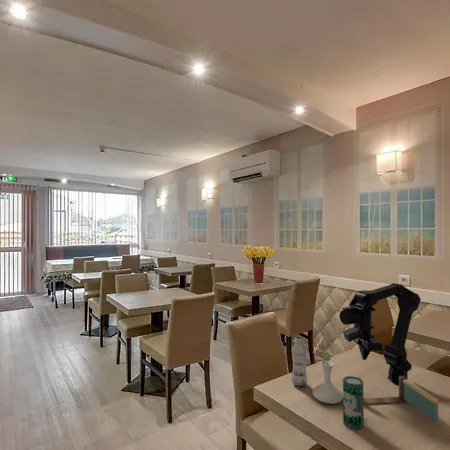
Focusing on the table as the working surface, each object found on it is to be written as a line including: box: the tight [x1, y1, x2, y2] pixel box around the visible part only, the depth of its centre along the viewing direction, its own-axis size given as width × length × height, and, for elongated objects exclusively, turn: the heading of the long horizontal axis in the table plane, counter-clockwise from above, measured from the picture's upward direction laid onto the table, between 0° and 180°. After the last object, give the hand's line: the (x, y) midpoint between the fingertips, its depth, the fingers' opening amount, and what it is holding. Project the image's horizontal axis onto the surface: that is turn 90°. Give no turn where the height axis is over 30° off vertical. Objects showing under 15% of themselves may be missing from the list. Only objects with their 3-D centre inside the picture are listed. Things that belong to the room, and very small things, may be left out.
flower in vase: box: [311, 335, 343, 404], centre depth 123 cm, size 13×11×25 cm
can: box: [342, 375, 365, 431], centre depth 108 cm, size 6×6×15 cm
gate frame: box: [356, 376, 409, 406], centre depth 122 cm, size 19×3×9 cm, turn 94°
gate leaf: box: [403, 379, 440, 423], centre depth 114 cm, size 15×2×7 cm, turn 9°
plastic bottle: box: [291, 335, 308, 388], centre depth 135 cm, size 6×7×20 cm
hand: (364, 359), depth 132 cm, fingers closed
